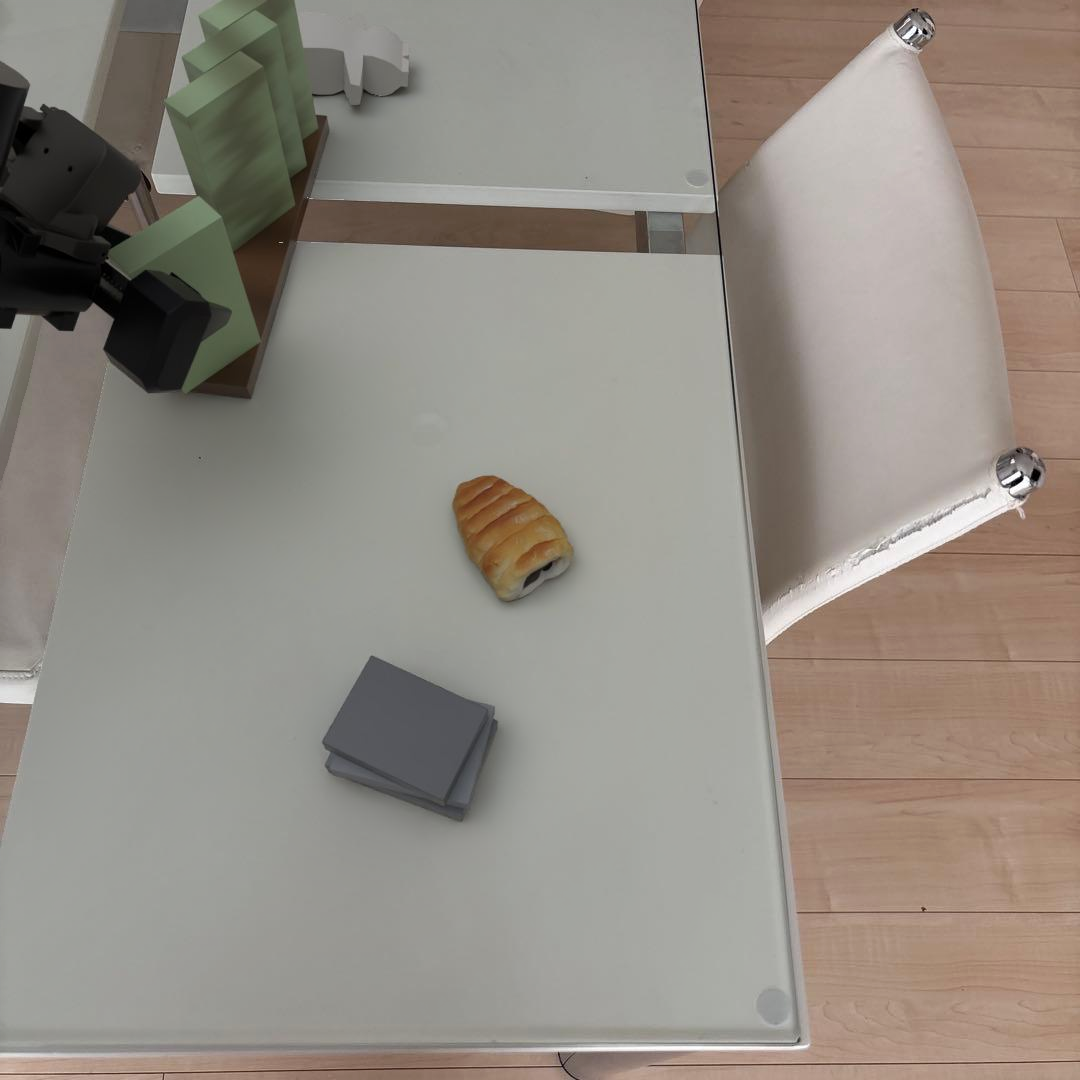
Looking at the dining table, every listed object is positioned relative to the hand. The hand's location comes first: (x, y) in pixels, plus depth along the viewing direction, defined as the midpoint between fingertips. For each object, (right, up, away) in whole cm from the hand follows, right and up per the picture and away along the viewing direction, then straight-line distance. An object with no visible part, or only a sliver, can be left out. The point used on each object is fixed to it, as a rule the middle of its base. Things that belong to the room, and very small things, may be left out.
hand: (181, 280), depth 65 cm
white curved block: (+5, +24, +23) cm, 34 cm away
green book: (0, -4, +7) cm, 8 cm away
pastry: (+22, -18, +3) cm, 29 cm away
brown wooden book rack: (+1, +6, +14) cm, 15 cm away
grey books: (+16, -31, -4) cm, 35 cm away
